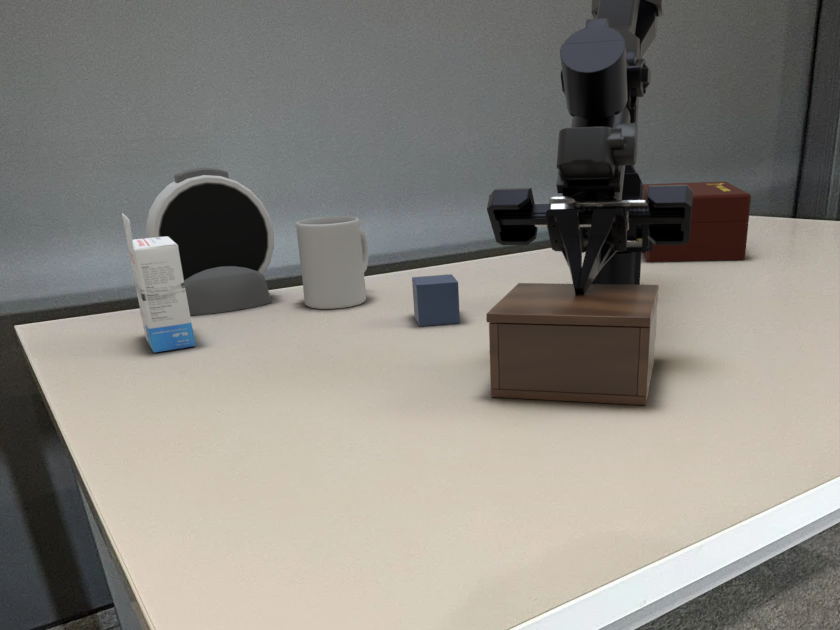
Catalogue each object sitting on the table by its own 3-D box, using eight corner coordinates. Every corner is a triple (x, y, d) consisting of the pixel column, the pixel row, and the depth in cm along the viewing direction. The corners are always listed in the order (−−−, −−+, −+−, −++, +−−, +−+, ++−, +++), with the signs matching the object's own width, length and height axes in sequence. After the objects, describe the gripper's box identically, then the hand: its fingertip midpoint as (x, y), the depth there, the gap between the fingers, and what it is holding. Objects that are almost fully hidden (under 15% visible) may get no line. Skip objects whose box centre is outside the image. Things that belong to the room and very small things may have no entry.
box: (629, 241, 146) (631, 184, 142) (722, 238, 143) (727, 180, 139) (637, 262, 127) (640, 196, 123) (745, 259, 124) (752, 193, 120)
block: (453, 313, 101) (451, 274, 99) (459, 323, 96) (458, 281, 94) (414, 316, 100) (411, 277, 98) (419, 326, 96) (416, 285, 94)
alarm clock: (169, 320, 105) (141, 174, 97) (157, 306, 113) (130, 170, 106) (288, 302, 111) (270, 164, 104) (268, 290, 120) (250, 161, 112)
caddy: (646, 405, 68) (650, 327, 65) (490, 397, 71) (488, 323, 69) (654, 361, 79) (658, 293, 76) (519, 356, 82) (518, 291, 80)
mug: (341, 311, 105) (332, 225, 100) (292, 306, 109) (281, 223, 104) (392, 292, 114) (387, 213, 110) (345, 288, 118) (338, 212, 114)
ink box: (198, 346, 92) (174, 215, 86) (153, 354, 90) (126, 219, 84) (186, 331, 99) (164, 208, 93) (144, 337, 97) (118, 212, 91)
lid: (649, 327, 64) (650, 317, 64) (486, 322, 68) (486, 313, 68) (658, 293, 76) (658, 284, 76) (518, 290, 80) (518, 282, 79)
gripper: (488, 97, 73) (461, 238, 68) (700, 85, 68) (689, 237, 63) (508, 179, 83) (486, 308, 78) (694, 174, 78) (684, 312, 73)
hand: (579, 292), depth 73 cm, fingers closed, pressing on lid
